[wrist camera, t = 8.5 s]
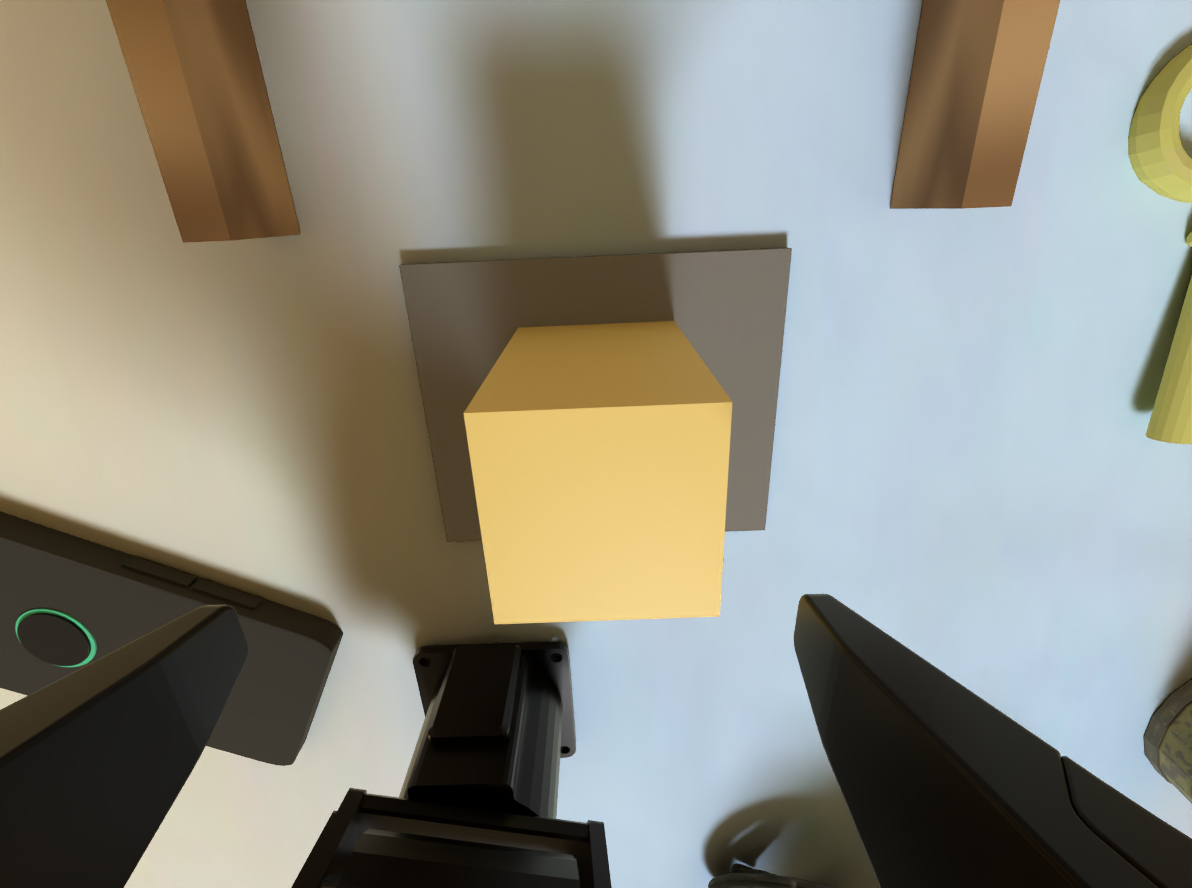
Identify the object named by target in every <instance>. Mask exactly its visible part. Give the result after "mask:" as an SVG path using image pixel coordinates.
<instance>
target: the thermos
mask: <svg viewBox="0 0 1192 888" xmlns="http://www.w3.org/2000/svg"><path fill="white" fill-rule="evenodd" d="M1144 747H1145V756H1146V757H1147V758H1148V760H1149V761H1150V763H1151V764H1152V765H1153V767H1154V768H1155V770H1156V771H1157V772H1158V773H1159V774H1160V775H1161V776H1162V777H1163V778H1164V779H1165V780H1166V781H1168V782H1169V783H1171V784H1173V785H1174V786H1175V787H1176V788H1177V789H1178V790H1179V791H1180V792H1181V793H1182V794H1183V795H1184V796H1185V797H1186V798H1187V799H1188V800H1189V801H1190V802H1191V803H1192V679H1191V680H1190V681H1188V682H1187V683H1186V684H1184V685H1183V686H1182V687H1180V688H1179V689H1177V690H1176V691H1175V692H1173V693H1172V694H1171V695H1170V696H1169V697H1168V698H1167V699H1166V701H1165V702H1164V703H1163V704H1162V705H1161V706H1160V708H1159V709H1158V710H1157V711H1156V712H1155V713H1154V715H1153V716H1152V718H1151V721H1150V723H1149V725H1148V728H1147V730H1146V733H1145V735H1144Z"/></svg>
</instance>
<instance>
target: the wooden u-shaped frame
mask: <svg viewBox="0 0 1192 888" xmlns="http://www.w3.org/2000/svg"><path fill="white" fill-rule="evenodd" d="M106 2H107V5H108V8H109V11H110V15H111V18H112V21H113V24H114V27H115V30H116V33H117V36H118V40H119V43H120V46H121V49H122V52H123V55H124V58H125V62H126V65H127V68H128V71H129V74H130V77H131V80H132V84H133V87H134V90H135V93H136V96H137V99H138V102H139V106H140V109H141V112H142V115H143V118H144V121H145V124H146V127H147V131H148V134H149V137H150V140H151V143H152V146H153V149H154V153H155V156H156V159H157V162H158V165H159V168H160V171H161V175H162V178H163V181H164V184H165V187H166V190H167V193H168V197H169V200H170V203H171V206H172V209H173V212H174V215H175V219H176V222H177V225H178V228H179V231H180V234H181V237H182V240H183V242H204V241H227V240H240V239H252V238H264V237H275V236H287V235H298V234H300V230H299V226H298V222H297V217H296V213H295V209H294V205H293V201H292V196H291V192H290V188H289V184H288V180H287V175H286V171H285V167H284V163H283V159H282V154H281V150H280V146H279V142H278V138H277V133H276V129H275V125H274V121H273V116H272V112H271V108H270V104H269V100H268V95H267V91H266V87H265V83H264V79H263V74H262V70H261V66H260V62H259V58H258V53H257V49H256V45H255V41H254V36H253V32H252V28H251V24H250V20H249V15H248V11H247V7H246V3H245V0H106ZM1059 3H1060V0H923V4H922V10H921V17H920V23H919V29H918V36H917V42H916V48H915V54H914V61H913V67H912V73H911V80H910V86H909V92H908V99H907V105H906V111H905V118H904V124H903V130H902V137H901V143H900V149H899V156H898V162H897V168H896V175H895V181H894V187H893V194H892V200H891V206H890V208H981V207H1004V206H1011V205H1012V201H1013V196H1014V192H1015V188H1016V184H1017V180H1018V175H1019V171H1020V167H1021V163H1022V159H1023V154H1024V150H1025V146H1026V142H1027V138H1028V133H1029V129H1030V125H1031V121H1032V117H1033V112H1034V108H1035V104H1036V100H1037V96H1038V91H1039V87H1040V83H1041V79H1042V75H1043V70H1044V66H1045V62H1046V58H1047V54H1048V49H1049V45H1050V41H1051V37H1052V33H1053V28H1054V24H1055V20H1056V16H1057V12H1058V7H1059Z"/></svg>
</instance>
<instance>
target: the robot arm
mask: <svg viewBox="0 0 1192 888" xmlns="http://www.w3.org/2000/svg"><path fill="white" fill-rule="evenodd" d="M794 646H795V651H796V655H797V658H798V662H799V665H800V669H801V672H802V676H803V679H804V683H805V686H806V690H807V693H808V696H809V700H810V703H811V707H812V710H813V714H814V717H815V721H816V724H817V728H818V731H819V734H820V737H821V741H822V744H823V747H824V749H825V752H826V755H827V757H828V760H829V762H830V765H831V767H832V770H833V772H834V775H835V777H836V780H837V782H838V785H839V787H840V789H841V792H842V794H843V797H844V799H845V802H846V804H847V807H848V809H849V812H850V814H851V816H852V819H853V821H854V824H855V826H856V829H857V831H858V834H859V836H860V839H861V841H862V844H863V846H864V848H865V851H866V853H867V856H868V858H869V861H870V863H871V866H872V868H873V871H874V873H875V875H876V878H877V880H878V883H879V885H880V888H1192V839H1191V838H1190V837H1188V836H1187V835H1185V834H1183V833H1182V832H1180V831H1179V830H1177V829H1175V828H1174V827H1172V826H1171V825H1169V824H1167V823H1166V822H1164V821H1163V820H1161V819H1160V818H1158V817H1156V816H1155V815H1153V814H1152V813H1150V812H1149V811H1147V810H1146V809H1144V808H1143V807H1141V806H1140V805H1138V804H1137V803H1135V802H1134V801H1132V800H1131V799H1129V798H1128V797H1126V796H1125V795H1123V794H1122V793H1120V792H1119V791H1117V790H1116V789H1114V788H1113V787H1111V786H1109V785H1108V784H1106V783H1105V782H1103V781H1102V780H1100V779H1099V778H1097V777H1096V776H1095V775H1093V774H1092V773H1090V772H1089V771H1087V770H1086V769H1084V768H1083V767H1081V766H1080V765H1078V764H1077V763H1076V762H1074V761H1073V760H1071V759H1070V758H1068V757H1066V756H1062V757H1061V756H1060V753H1059V751H1058V750H1056V749H1055V748H1053V747H1052V746H1050V745H1049V744H1047V743H1046V742H1044V741H1043V740H1042V739H1040V738H1039V737H1037V736H1036V735H1034V734H1033V733H1031V732H1030V731H1028V730H1027V729H1025V728H1024V727H1022V726H1021V725H1020V724H1018V723H1017V722H1015V721H1014V720H1012V719H1011V718H1009V717H1008V716H1006V715H1005V714H1003V713H1002V712H1001V711H999V710H998V709H996V708H995V707H993V706H992V705H990V704H989V703H987V702H986V701H984V700H983V699H982V698H980V697H979V696H977V695H976V694H974V693H973V692H971V691H970V690H968V689H967V688H965V687H964V686H962V685H961V684H960V683H958V682H957V681H955V680H954V679H952V678H951V677H949V676H948V675H946V674H945V673H943V672H942V671H941V670H939V669H938V668H936V667H935V666H933V665H932V664H930V663H929V662H927V661H926V660H924V659H923V658H922V657H920V656H919V655H917V654H916V653H914V652H913V651H911V650H910V649H908V648H907V647H905V646H904V645H902V644H901V643H900V642H898V641H897V640H895V639H894V638H892V637H891V636H889V635H888V634H886V633H885V632H883V631H882V630H881V629H879V628H878V627H876V626H875V625H873V624H872V623H870V622H869V621H867V620H866V619H864V618H863V617H861V616H860V615H859V614H857V613H856V612H854V611H853V610H851V609H850V608H848V607H847V606H845V605H844V604H842V603H841V602H840V601H838V600H837V599H835V598H834V597H832V596H830V595H828V594H805V595H803V596H802V597H801V599H800V601H799V605H798V612H797V618H796V625H795V631H794ZM554 653H558V654H560V655H554ZM247 655H248V644H247V640H246V638H245V635H244V632H243V629H242V626H241V623H240V620H239V618H238V615H237V612H236V610H235V609H234V608H233V607H232V606H229V605H205V606H201V607H199V608H197V609H195V610H193V611H191V612H189V613H187V614H185V615H183V616H181V617H179V618H178V619H176V620H174V621H172V622H170V623H168V624H166V625H164V626H162V627H160V628H158V629H156V630H154V631H152V632H150V633H148V634H147V635H145V636H143V637H141V638H139V639H137V640H135V641H133V642H131V643H129V644H127V645H125V646H123V647H121V648H119V649H118V650H116V651H114V652H112V653H110V654H108V655H106V656H104V657H102V658H100V659H98V660H96V661H94V662H92V663H90V664H88V665H87V666H85V667H83V668H81V669H79V670H77V671H75V672H73V673H71V674H69V675H67V676H65V677H63V678H61V679H59V680H57V681H56V682H54V683H52V684H50V685H48V686H46V687H44V688H42V689H40V690H38V691H36V692H34V693H32V694H30V695H28V696H27V697H25V698H23V699H21V700H19V701H17V702H15V703H13V704H11V705H9V706H7V707H5V708H3V709H1V710H0V888H124V886H125V884H126V883H127V881H128V879H129V878H130V876H131V874H132V872H133V871H134V869H135V867H136V866H137V864H138V862H139V861H140V859H141V857H142V855H143V854H144V852H145V850H146V849H147V847H148V845H149V843H150V842H151V840H152V838H153V837H154V835H155V833H156V832H157V830H158V828H159V826H160V825H161V823H162V821H163V820H164V818H165V816H166V815H167V813H168V811H169V809H170V808H171V806H172V804H173V803H174V801H175V799H176V797H177V796H178V794H179V792H180V791H181V789H182V787H183V786H184V784H185V782H186V780H187V779H188V777H189V775H190V774H191V772H192V770H193V768H194V766H195V765H196V763H197V761H198V759H199V758H200V756H201V754H202V752H203V750H204V748H205V746H206V744H207V742H208V740H209V738H210V736H211V734H212V731H213V729H214V727H215V725H216V723H217V721H218V719H219V717H220V715H221V712H222V710H223V708H224V706H225V704H226V702H227V700H228V698H229V695H230V693H231V691H232V689H233V687H234V685H235V683H236V681H237V678H238V676H239V674H240V672H241V670H242V668H243V666H244V664H245V661H246V658H247ZM424 658H428V659H429V660H427V659H424ZM413 665H414V669H415V674H416V678H417V682H418V687H419V691H420V696H421V700H422V704H423V709H424V713H425V720H424V723H423V726H422V729H421V732H420V735H419V738H418V741H417V744H416V747H415V750H414V753H413V756H412V759H411V762H410V765H409V768H408V771H407V774H406V777H405V780H404V783H403V787H402V790H401V793H400V796H399V798H397V797H389V796H382V795H375V794H367V790H361V789H354V788H350V789H349V791H348V792H347V794H346V796H345V798H344V800H343V802H342V803H341V805H340V807H339V809H338V811H334V812H333V813H332V815H331V817H330V818H329V820H328V822H327V824H326V826H325V827H324V829H323V831H322V833H321V835H320V837H319V838H318V840H317V842H316V844H315V846H314V847H313V849H312V851H311V853H310V855H309V857H308V858H307V860H306V862H305V864H304V866H303V867H302V869H301V871H300V873H299V875H298V877H297V878H296V880H295V882H294V884H293V886H292V888H611V880H610V871H609V863H608V855H607V846H606V838H605V830H604V823H603V822H598V821H590V820H588V822H587V823H582V822H575V821H567V820H560V819H556V814H557V798H558V782H559V766H560V758H565V757H570V756H572V755H573V754H574V753H575V750H576V737H575V724H574V711H573V699H572V686H571V673H570V660H569V650H568V647H567V646H566V645H565V644H564V643H561V642H531V643H501V644H471V645H442V646H423V647H420V648H419V649H418V650H417V651H416V653H415V656H414V658H413Z"/></svg>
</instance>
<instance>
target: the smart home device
mask: <svg viewBox="0 0 1192 888" xmlns="http://www.w3.org/2000/svg"><path fill="white" fill-rule="evenodd" d="M205 605H229V606H232V607H233V608H234V609H235V610H236V612H237V615H238V618H239V620H240V623H241V626H242V629H243V632H244V635H245V638H246V640H247V644H248V655H247V658H246V661H245V664H244V666H243V668H242V670H241V672H240V674H239V676H238V678H237V681H236V683H235V685H234V687H233V689H232V691H231V693H230V695H229V698H228V700H227V702H226V704H225V706H224V708H223V710H222V712H221V715H220V717H219V719H218V721H217V723H216V725H215V727H214V729H213V731H212V734H211V736H210V738H209V740H208V742H207V744H206V746H209V747H212V748H216V749H219V750H223V751H226V752H230V753H234V754H237V755H241V756H244V757H248V758H251V759H255V760H258V761H262V762H266V763H270V764H275V765H282V766H285V765H291V764H293V763H294V761H295V759H296V757H297V755H298V753H299V751H300V750H301V748H302V746H303V744H304V742H305V740H306V738H307V735H308V732H309V729H310V726H311V723H312V721H313V718H314V715H315V712H316V709H317V706H318V704H319V701H320V698H321V695H322V692H323V689H324V687H325V684H326V681H327V678H328V675H329V672H330V670H331V667H332V664H333V661H334V658H335V655H336V653H337V650H338V647H339V644H340V641H341V638H342V636H343V632H342V630H341V629H340V628H339V627H337V626H336V625H335V624H333V623H331V622H329V621H327V620H325V619H323V618H320V617H317V616H314V615H311V614H308V613H305V612H302V611H299V610H296V609H293V608H290V607H287V606H284V605H281V604H278V603H275V602H272V601H269V600H266V599H263V598H260V597H257V596H254V595H251V594H248V593H245V592H242V591H239V590H236V589H233V588H230V587H227V586H224V585H221V584H218V583H215V582H212V581H209V580H206V579H203V578H199V577H196V576H193V575H190V574H187V573H184V572H181V571H178V570H175V569H172V568H169V567H166V566H163V565H160V564H157V563H154V562H151V561H148V560H145V559H142V558H139V557H136V556H133V555H130V554H127V553H124V552H121V551H118V550H115V549H112V548H109V547H106V546H103V545H100V544H97V543H94V542H91V541H88V540H85V539H82V538H79V537H76V536H73V535H70V534H67V533H64V532H60V531H57V530H54V529H51V528H48V527H45V526H42V525H39V524H36V523H33V522H30V521H27V520H24V519H21V518H18V517H15V516H12V515H9V514H6V513H3V512H0V688H3V689H7V690H10V691H14V692H17V693H21V694H25V695H30V694H32V693H34V692H36V691H38V690H40V689H42V688H44V687H46V686H48V685H50V684H52V683H54V682H56V681H57V680H59V679H61V678H63V677H65V676H67V675H69V674H71V673H73V672H75V671H77V670H79V669H81V668H83V667H85V666H87V665H88V664H90V663H92V662H94V661H96V660H98V659H100V658H102V657H104V656H106V655H108V654H110V653H112V652H114V651H116V650H118V649H119V648H121V647H123V646H125V645H127V644H129V643H131V642H133V641H135V640H137V639H139V638H141V637H143V636H145V635H147V634H148V633H150V632H152V631H154V630H156V629H158V628H160V627H162V626H164V625H166V624H168V623H170V622H172V621H174V620H176V619H178V618H179V617H181V616H183V615H185V614H187V613H189V612H191V611H193V610H195V609H197V608H199V607H201V606H205Z"/></svg>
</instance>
